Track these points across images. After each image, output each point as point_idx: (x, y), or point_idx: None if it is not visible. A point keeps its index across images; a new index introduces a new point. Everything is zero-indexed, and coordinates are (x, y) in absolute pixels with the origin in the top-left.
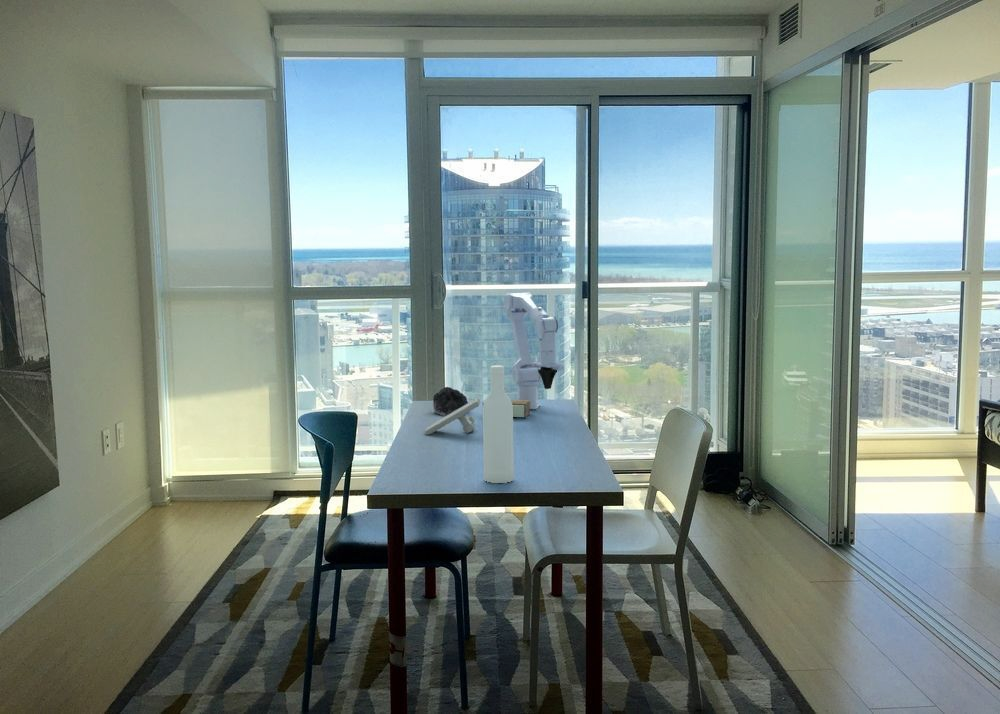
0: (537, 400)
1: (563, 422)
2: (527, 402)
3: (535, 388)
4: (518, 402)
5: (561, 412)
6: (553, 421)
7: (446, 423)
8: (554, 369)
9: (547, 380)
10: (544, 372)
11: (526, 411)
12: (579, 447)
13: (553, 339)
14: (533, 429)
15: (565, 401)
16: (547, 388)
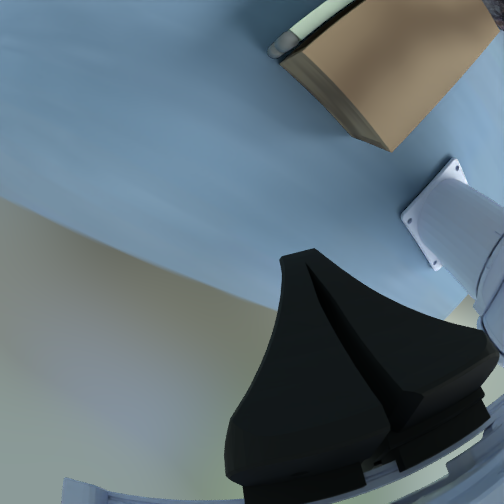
0: (447, 270)
1: (85, 178)
2: (336, 86)
3: (467, 277)
4: (368, 42)
5: None
6: (122, 144)
7: None
8: (197, 501)
9: (277, 319)
10: (321, 400)
11: (290, 61)
12: None
13: None
14: (40, 13)
15: None
16: (281, 263)
